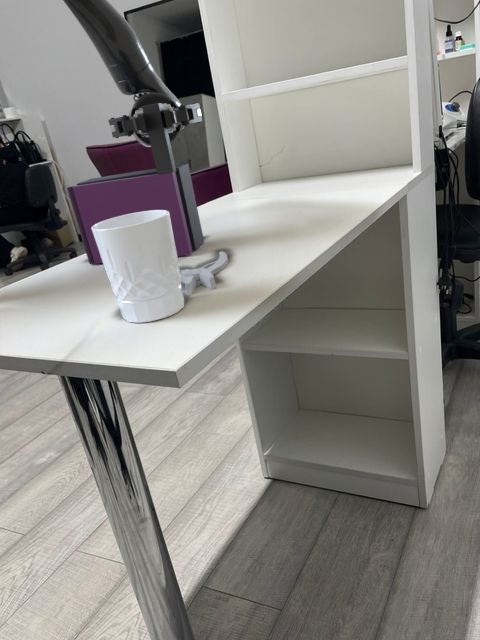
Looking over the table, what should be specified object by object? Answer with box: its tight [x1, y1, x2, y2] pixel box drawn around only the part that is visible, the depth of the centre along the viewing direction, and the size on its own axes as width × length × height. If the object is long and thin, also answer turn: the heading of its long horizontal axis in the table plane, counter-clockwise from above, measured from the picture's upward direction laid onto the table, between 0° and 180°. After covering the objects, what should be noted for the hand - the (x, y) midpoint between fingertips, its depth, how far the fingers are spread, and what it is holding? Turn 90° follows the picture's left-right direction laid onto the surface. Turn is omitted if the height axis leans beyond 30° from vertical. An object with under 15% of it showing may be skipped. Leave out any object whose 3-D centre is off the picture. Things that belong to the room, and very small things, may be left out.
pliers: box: [180, 251, 229, 296], centre depth 69 cm, size 10×2×15 cm
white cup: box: [91, 210, 185, 324], centre depth 56 cm, size 8×8×10 cm
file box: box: [76, 163, 205, 252], centre depth 83 cm, size 16×5×12 cm, turn 81°
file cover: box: [66, 103, 194, 265], centre depth 77 cm, size 17×1×20 cm, turn 76°
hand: (155, 120), depth 69 cm, fingers closed on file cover, 2 cm apart
